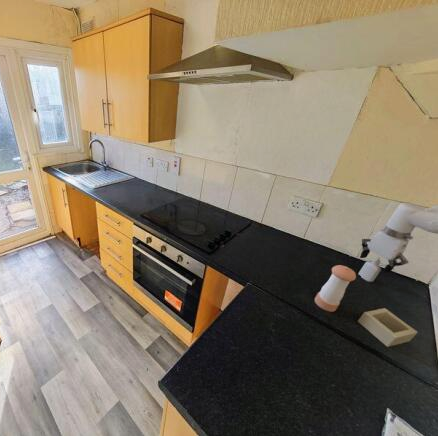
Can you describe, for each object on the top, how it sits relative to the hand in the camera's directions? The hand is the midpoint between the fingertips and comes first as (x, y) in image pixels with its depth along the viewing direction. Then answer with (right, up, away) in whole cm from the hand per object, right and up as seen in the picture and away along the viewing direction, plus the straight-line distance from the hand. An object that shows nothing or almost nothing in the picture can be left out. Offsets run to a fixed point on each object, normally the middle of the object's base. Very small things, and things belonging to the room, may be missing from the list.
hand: (373, 264), depth 102 cm
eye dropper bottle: (0, -7, +4) cm, 8 cm away
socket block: (-18, -20, -21) cm, 34 cm away
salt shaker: (-30, -14, -11) cm, 35 cm away
